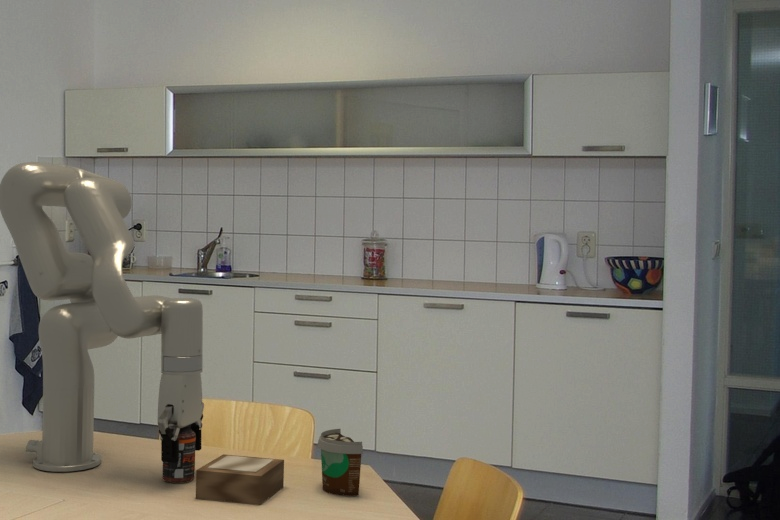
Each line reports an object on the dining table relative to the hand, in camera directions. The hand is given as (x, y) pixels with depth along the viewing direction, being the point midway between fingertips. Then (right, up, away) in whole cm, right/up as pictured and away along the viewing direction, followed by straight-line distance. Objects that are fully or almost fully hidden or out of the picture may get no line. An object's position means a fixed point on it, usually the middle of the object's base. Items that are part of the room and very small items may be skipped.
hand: (181, 455), depth 175 cm
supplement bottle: (-1, -5, 0) cm, 5 cm away
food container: (+29, -6, -3) cm, 29 cm away
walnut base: (+12, -5, -7) cm, 15 cm away
